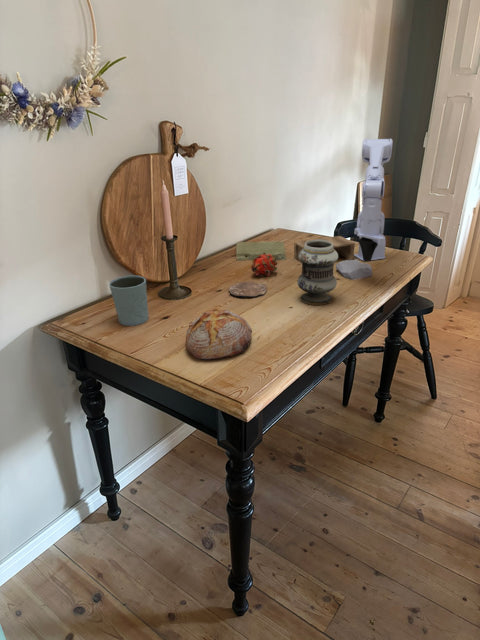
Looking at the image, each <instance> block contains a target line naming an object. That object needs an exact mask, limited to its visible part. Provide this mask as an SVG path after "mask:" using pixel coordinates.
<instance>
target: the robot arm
mask: <svg viewBox="0 0 480 640" xmlns="http://www.w3.org/2000/svg"><path fill="white" fill-rule="evenodd" d="M393 142H394V141H393V139H392V138H364V139H363V140H362V146H361V148H362V149H361V158H362V162H364V163H367V165H368V166H367V167H366V168H365V173H364V175H365V176H364V181H363V182H362V186H361V187H362V188H361V205H362V207H361V211H360V212H359V213H358V215H357V222H356V228H354V232H353V234H354V235H357V237H359V238H358V239H357V243H358V251H357V252H358V253H354V257H355V258H356V259H358V260H361V261H362V262H371V261H377V260H383V259H386V256H385V252H386V244H387V243H386V236H385V235H384V231H385V213H384V212H383V211H382V202H383V199H384V196H385V195H384V194H385V187H386V183H385V169H384V164H386V163H389V162H390V160H391V158H392V153H393V152H392V151H393Z"/></svg>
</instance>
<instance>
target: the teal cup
mask: <svg viewBox="0 0 480 640" xmlns="http://www.w3.org/2000/svg"><path fill="white" fill-rule="evenodd" d="M108 285H109V290H110V291H111V296H112V301H113V304H114V308H115V312H116V315H117V319H118V322H119V324H120V325H122V326H127V327H132V326H133V327H134V326H140V325H142V324H144V323H146V322H147V321H148V320H149V306H148V294H147V279H146V278H145V277H144V276H141V275H124V276H120V277H117V278H115V279H112V280H111V281H110V282H109V284H108Z"/></svg>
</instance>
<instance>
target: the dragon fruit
mask: <svg viewBox="0 0 480 640" xmlns="http://www.w3.org/2000/svg"><path fill="white" fill-rule="evenodd" d="M251 261H252V265H250V269H251V271H252V272H253V273H254V277H261V276H263V275H266V277H269V276H271V274H272V272H274V271H277V270H278V267H277V265H278V262H277V260H276V258H275V257H274V256H273V254H269V255H267V254H266V253H263V255H258V256H257V257H256V258H255V259H254V260H251Z"/></svg>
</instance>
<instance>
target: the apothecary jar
mask: <svg viewBox="0 0 480 640" xmlns="http://www.w3.org/2000/svg"><path fill="white" fill-rule="evenodd" d="M309 240H310V241H307V242H305V245H304V249H302V250H301V251H300V253H299V260H300V261H301V262H302V263H301V262H300V261H299V262H300V263H301V266H302V267H301V274H300V275H299V276H298V278H297V279H296V280H297V286H298V288H300V290H302V291H303V294H301V295H300V301H302V303H304V304H307V305H313V306H323V305H325V304H330V303H331V302H332V301H333V298H332V297H333V296H331V295H330V294H329V293H330V292H331V291H333V290H335V288H336V286H337V285H338V281H337V278H336V277H335V276H334V266H335V265H334V264H335V263H336V262H338V260H339V253H337V252H336V251H335V250H334V248H333V243H332V242H330V241H327V240H312V239H309ZM304 292H305V293H304Z"/></svg>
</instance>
